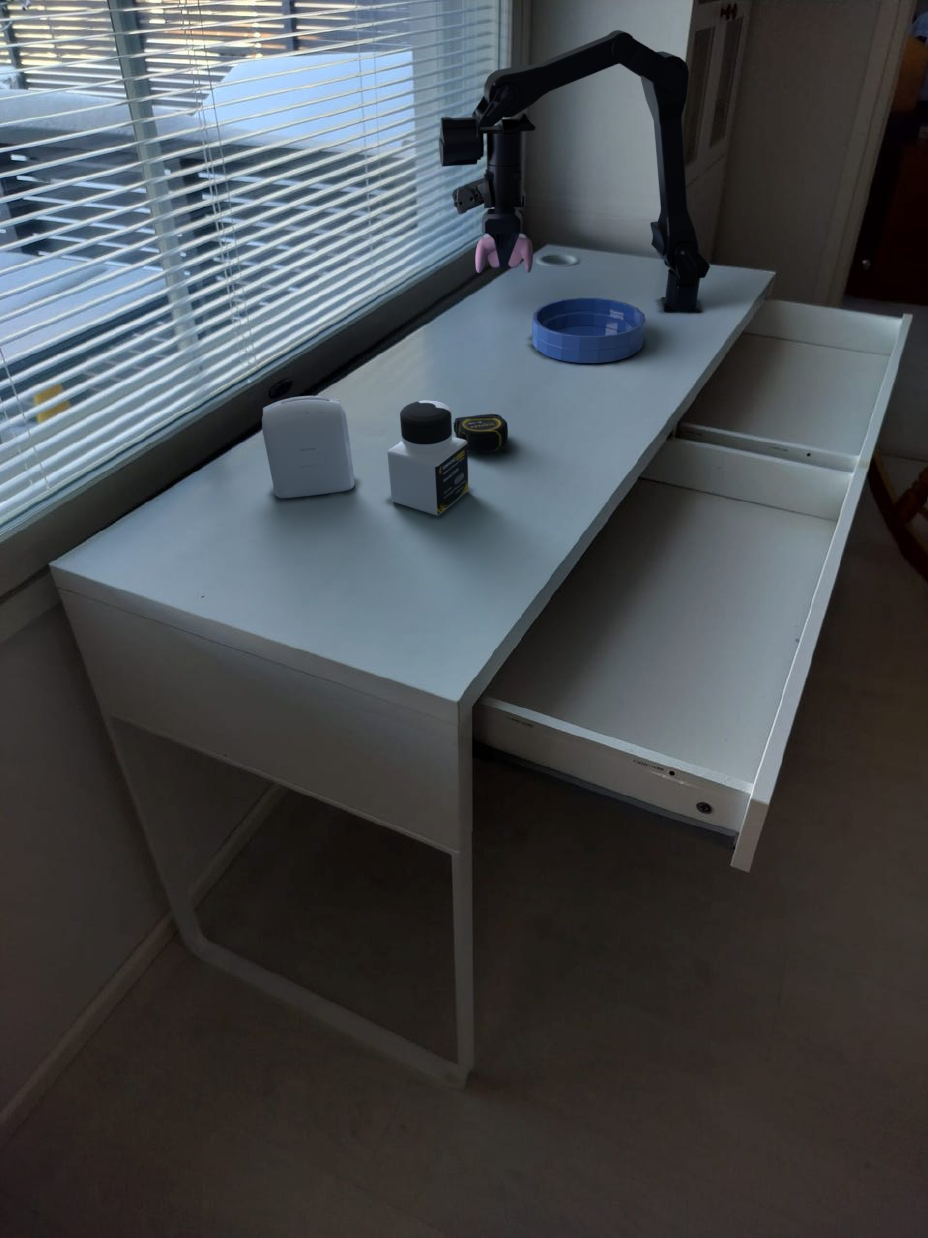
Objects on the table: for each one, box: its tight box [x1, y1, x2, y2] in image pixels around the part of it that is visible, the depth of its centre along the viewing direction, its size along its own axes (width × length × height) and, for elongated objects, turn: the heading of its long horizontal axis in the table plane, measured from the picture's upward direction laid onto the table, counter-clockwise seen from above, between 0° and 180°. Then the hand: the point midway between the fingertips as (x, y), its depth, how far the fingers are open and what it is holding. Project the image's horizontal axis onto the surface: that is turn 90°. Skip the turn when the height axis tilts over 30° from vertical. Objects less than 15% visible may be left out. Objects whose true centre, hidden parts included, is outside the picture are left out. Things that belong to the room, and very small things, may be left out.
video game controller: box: [474, 233, 534, 274], centre depth 151 cm, size 10×5×7 cm, turn 84°
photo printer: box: [261, 395, 356, 499], centre depth 109 cm, size 10×4×12 cm, turn 100°
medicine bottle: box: [386, 399, 469, 516], centre depth 107 cm, size 7×7×12 cm
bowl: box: [531, 297, 646, 364], centre depth 147 cm, size 18×18×4 cm
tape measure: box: [452, 413, 509, 454], centre depth 120 cm, size 7×7×4 cm
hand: (504, 262), depth 152 cm, fingers closed on video game controller, 6 cm apart
